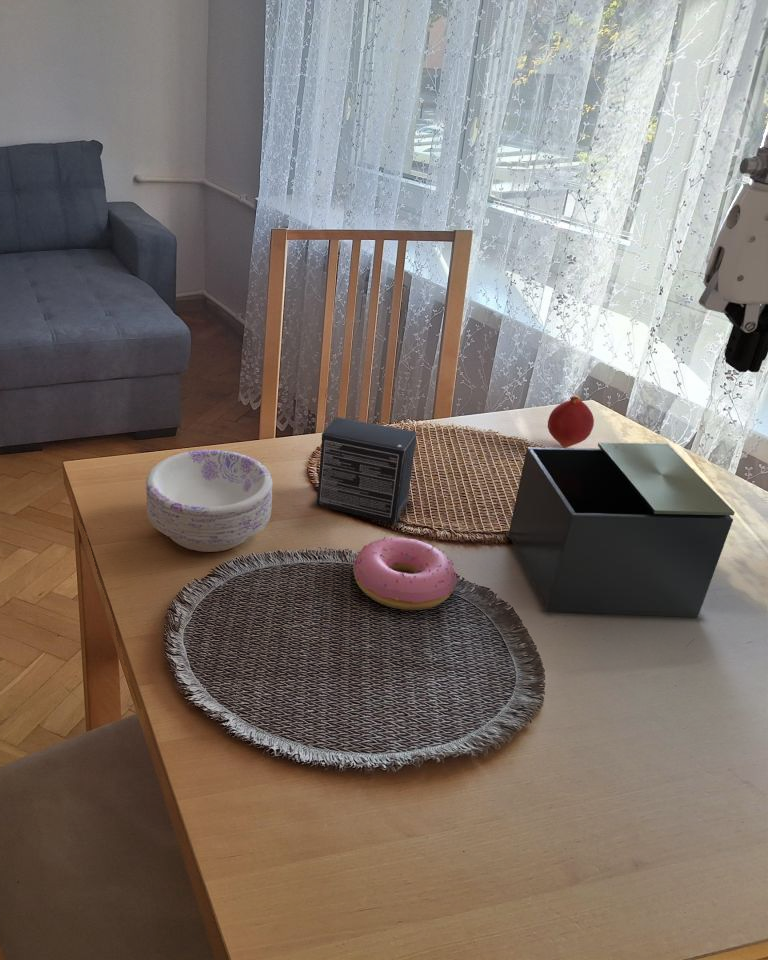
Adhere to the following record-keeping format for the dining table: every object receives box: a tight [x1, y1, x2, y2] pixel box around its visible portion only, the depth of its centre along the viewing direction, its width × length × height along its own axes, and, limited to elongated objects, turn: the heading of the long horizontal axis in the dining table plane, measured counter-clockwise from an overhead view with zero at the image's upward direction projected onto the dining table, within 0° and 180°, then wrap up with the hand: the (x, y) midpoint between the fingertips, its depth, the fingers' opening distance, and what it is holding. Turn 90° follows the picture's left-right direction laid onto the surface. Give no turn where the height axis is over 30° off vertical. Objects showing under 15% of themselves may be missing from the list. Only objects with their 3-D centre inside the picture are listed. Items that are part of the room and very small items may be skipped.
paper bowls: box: [145, 449, 273, 553], centre depth 105 cm, size 15×15×8 cm
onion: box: [547, 395, 595, 448], centre depth 122 cm, size 6×6×8 cm
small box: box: [315, 416, 418, 525], centre depth 109 cm, size 11×6×10 cm, turn 59°
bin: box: [507, 446, 734, 618], centre depth 94 cm, size 15×15×12 cm
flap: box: [597, 442, 736, 516], centre depth 90 cm, size 7×15×1 cm, turn 174°
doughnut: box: [352, 536, 458, 611], centre depth 95 cm, size 11×11×4 cm
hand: (741, 366), depth 84 cm, fingers closed
